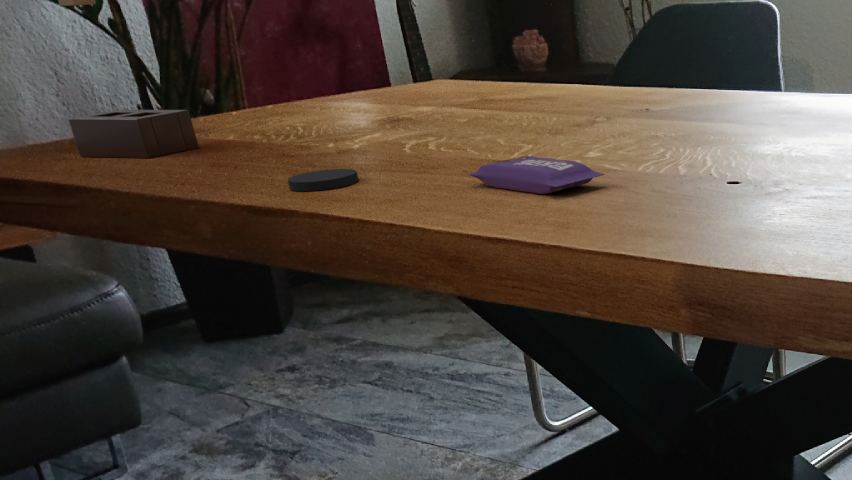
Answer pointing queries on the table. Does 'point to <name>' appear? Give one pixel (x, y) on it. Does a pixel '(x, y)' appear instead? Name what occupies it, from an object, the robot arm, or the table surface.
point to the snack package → (535, 174)
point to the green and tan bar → (75, 2)
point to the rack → (134, 133)
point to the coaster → (323, 180)
